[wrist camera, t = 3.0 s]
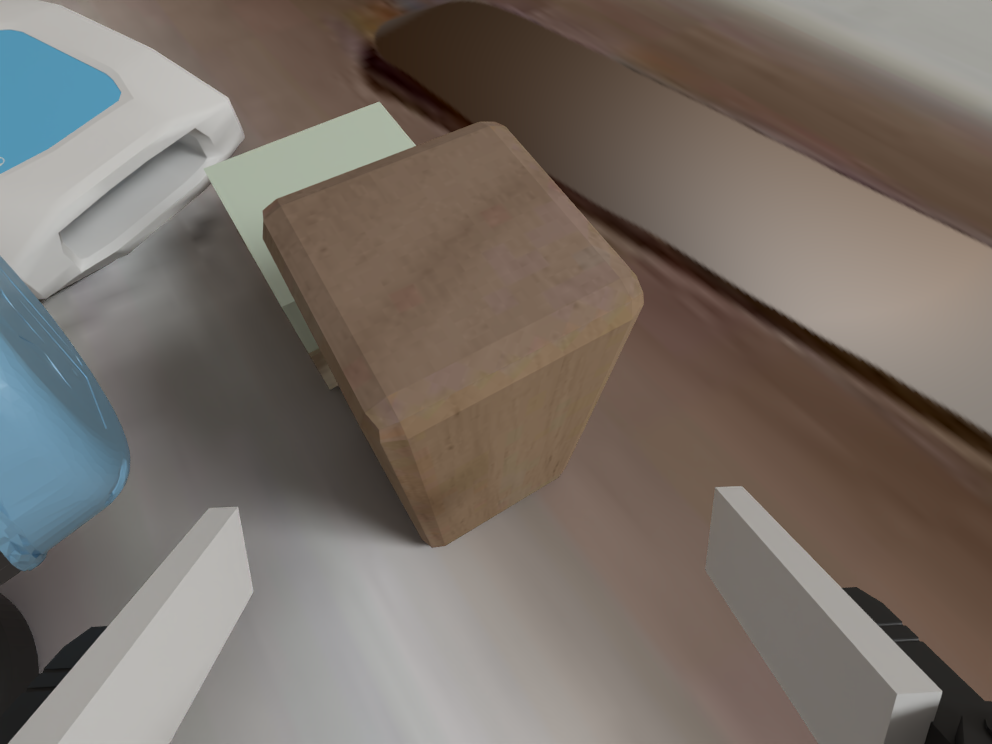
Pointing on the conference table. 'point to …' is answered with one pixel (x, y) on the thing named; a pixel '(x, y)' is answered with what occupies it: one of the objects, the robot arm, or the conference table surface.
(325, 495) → the conference table surface
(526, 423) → the block
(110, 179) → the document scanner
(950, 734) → the robot arm
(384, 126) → the tower upper slab
